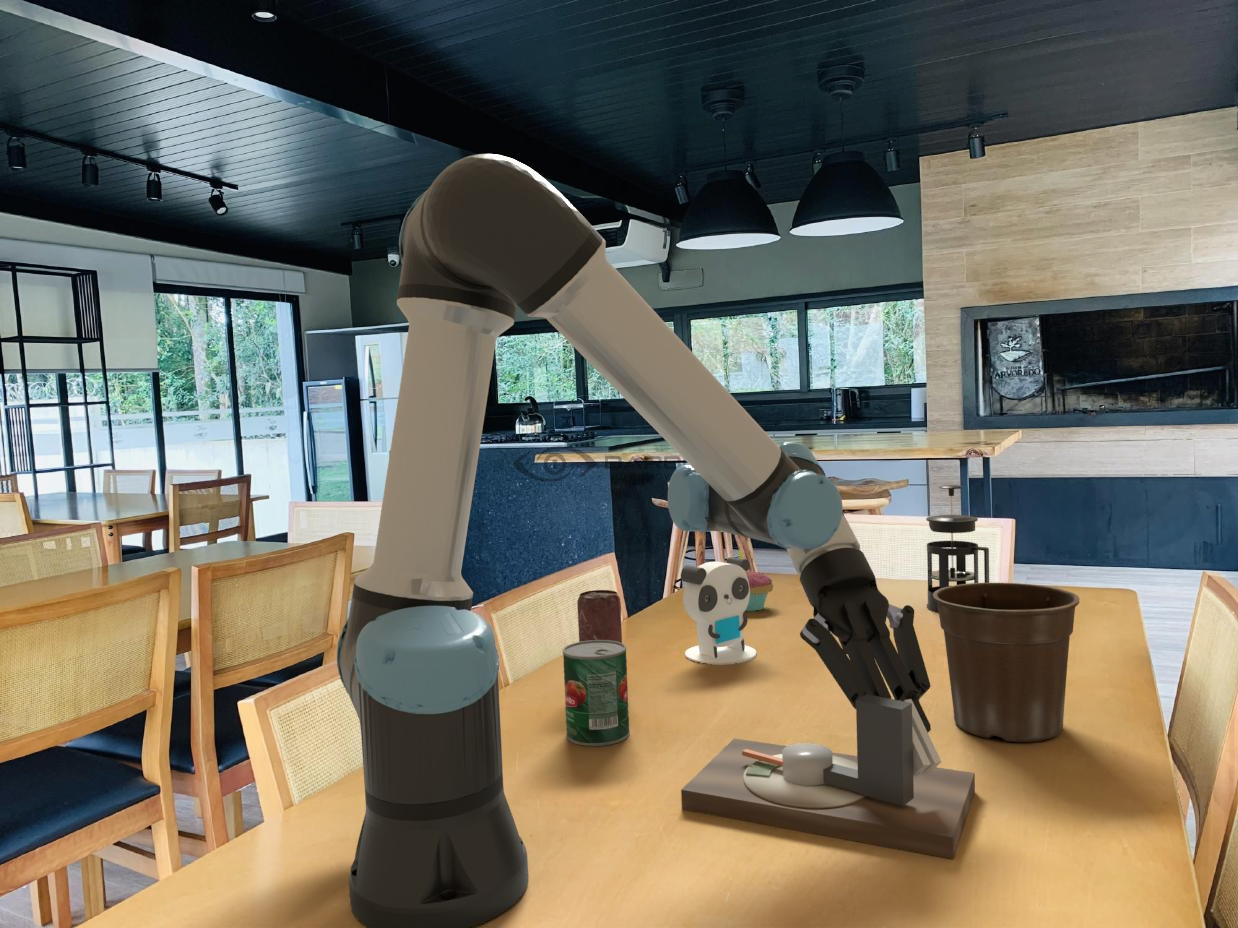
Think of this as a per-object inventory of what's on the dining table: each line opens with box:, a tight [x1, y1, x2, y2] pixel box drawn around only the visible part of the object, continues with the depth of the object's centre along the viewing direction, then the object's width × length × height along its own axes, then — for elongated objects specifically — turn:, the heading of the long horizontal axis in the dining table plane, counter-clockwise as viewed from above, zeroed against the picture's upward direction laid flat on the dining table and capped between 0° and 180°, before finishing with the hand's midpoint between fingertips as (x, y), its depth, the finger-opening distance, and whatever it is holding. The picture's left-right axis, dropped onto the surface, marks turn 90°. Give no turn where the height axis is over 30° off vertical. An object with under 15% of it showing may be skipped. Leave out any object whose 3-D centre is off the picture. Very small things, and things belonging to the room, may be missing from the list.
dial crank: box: [742, 694, 914, 806], centre depth 93 cm, size 19×5×9 cm, turn 48°
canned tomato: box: [562, 640, 631, 747], centre depth 115 cm, size 8×8×11 cm
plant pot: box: [933, 582, 1080, 743], centre depth 112 cm, size 16×16×16 cm
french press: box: [925, 484, 990, 613], centre depth 171 cm, size 12×9×23 cm
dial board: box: [680, 738, 976, 860], centre depth 94 cm, size 15×26×2 cm, turn 62°
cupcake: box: [738, 546, 774, 612], centre depth 179 cm, size 9×8×12 cm
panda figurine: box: [680, 556, 757, 666], centre depth 148 cm, size 12×11×15 cm
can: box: [576, 589, 623, 643], centre depth 132 cm, size 6×6×14 cm
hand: (926, 768), depth 88 cm, fingers closed
